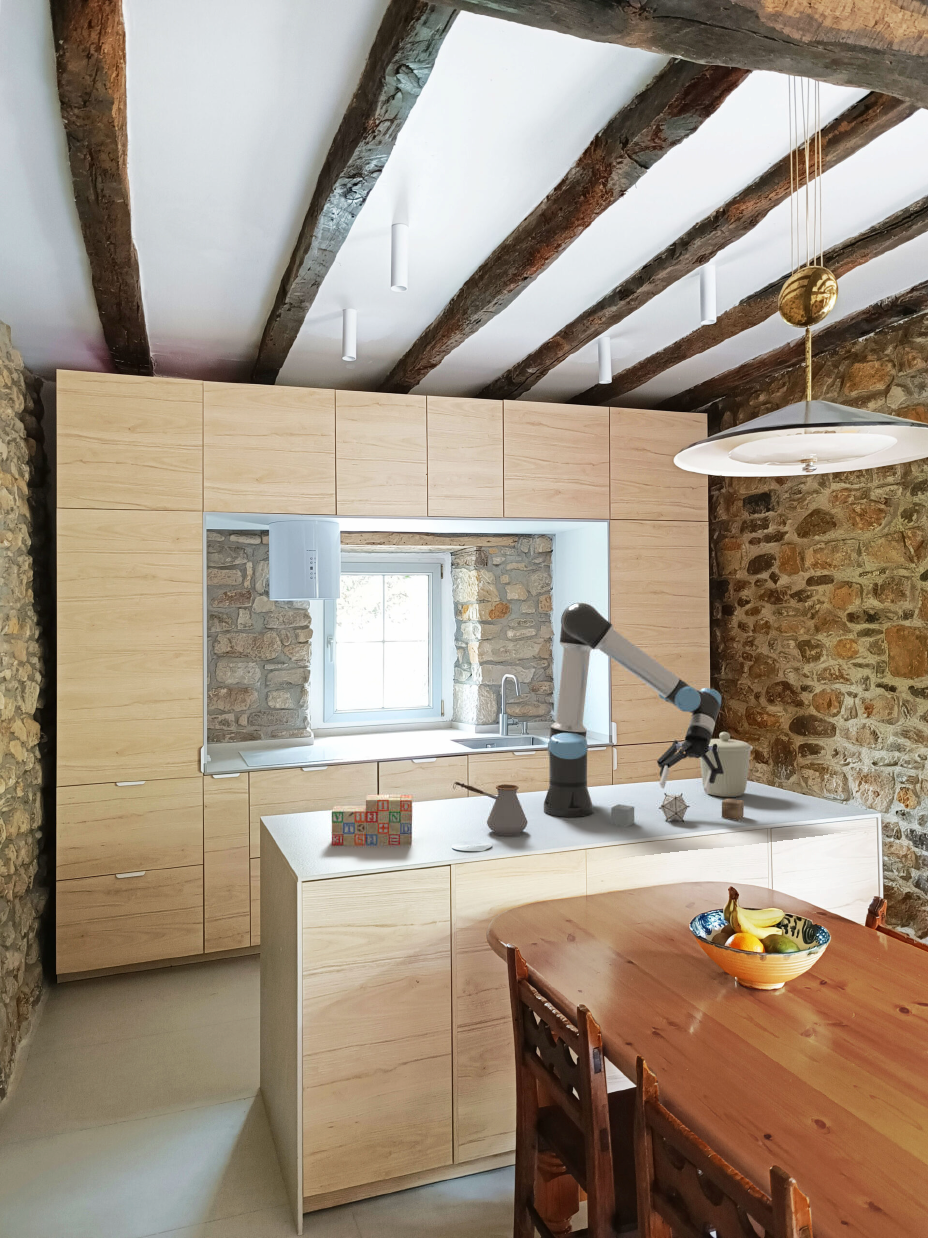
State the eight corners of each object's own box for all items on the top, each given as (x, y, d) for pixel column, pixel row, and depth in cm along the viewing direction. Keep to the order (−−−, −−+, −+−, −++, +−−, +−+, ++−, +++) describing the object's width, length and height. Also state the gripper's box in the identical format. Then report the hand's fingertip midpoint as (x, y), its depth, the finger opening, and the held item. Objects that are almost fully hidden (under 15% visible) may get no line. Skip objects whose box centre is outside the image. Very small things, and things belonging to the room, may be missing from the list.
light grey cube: (611, 824, 245) (611, 807, 245) (618, 821, 249) (618, 804, 249) (627, 827, 242) (627, 810, 242) (634, 823, 246) (634, 806, 246)
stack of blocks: (331, 846, 223) (330, 800, 223) (333, 839, 229) (333, 794, 229) (411, 845, 224) (411, 799, 223) (412, 839, 230) (412, 794, 230)
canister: (763, 798, 278) (763, 735, 278) (714, 801, 274) (714, 737, 274) (733, 787, 296) (734, 727, 296) (686, 790, 292) (687, 729, 291)
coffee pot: (520, 826, 243) (520, 774, 243) (533, 836, 232) (533, 782, 232) (448, 830, 238) (448, 777, 238) (458, 841, 227) (458, 786, 227)
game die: (677, 832, 251) (693, 803, 253) (681, 828, 243) (698, 799, 245) (650, 815, 253) (667, 787, 256) (654, 811, 245) (670, 782, 248)
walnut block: (721, 818, 253) (721, 801, 253) (726, 814, 257) (727, 798, 257) (738, 820, 250) (738, 803, 250) (743, 817, 254) (743, 800, 254)
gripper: (742, 742, 259) (727, 800, 247) (664, 735, 274) (647, 790, 261) (737, 727, 255) (722, 786, 243) (658, 721, 269) (640, 776, 257)
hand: (683, 788), depth 252 cm, fingers open, 13 cm apart
